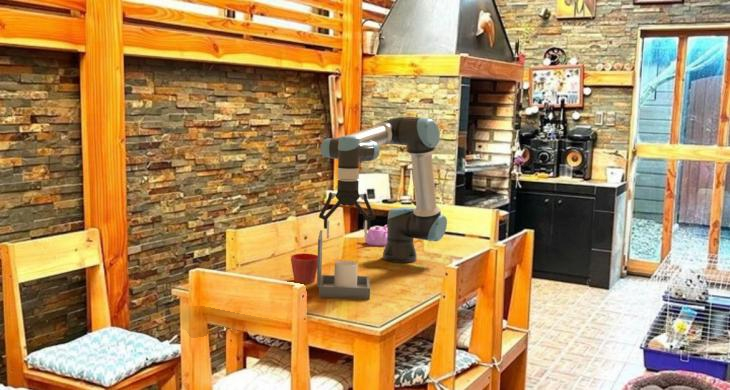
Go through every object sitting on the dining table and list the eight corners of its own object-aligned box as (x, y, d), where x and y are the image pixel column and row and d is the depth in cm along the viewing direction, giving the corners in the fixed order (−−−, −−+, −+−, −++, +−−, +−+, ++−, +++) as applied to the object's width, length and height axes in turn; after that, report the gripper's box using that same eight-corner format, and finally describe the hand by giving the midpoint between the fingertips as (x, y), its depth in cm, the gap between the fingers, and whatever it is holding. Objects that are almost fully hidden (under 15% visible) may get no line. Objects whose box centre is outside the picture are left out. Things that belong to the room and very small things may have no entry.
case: (368, 285, 267) (370, 231, 264) (369, 299, 248) (371, 240, 245) (317, 284, 266) (319, 229, 263) (315, 297, 248) (316, 239, 245)
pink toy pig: (386, 241, 352) (387, 224, 351) (391, 247, 338) (392, 229, 337) (362, 241, 350) (363, 223, 349) (366, 247, 337) (367, 228, 335)
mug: (336, 284, 262) (337, 257, 261) (358, 285, 262) (359, 258, 260) (332, 293, 251) (333, 264, 249) (355, 294, 250) (356, 266, 249)
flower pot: (307, 286, 263) (308, 260, 261) (284, 281, 268) (285, 256, 267) (324, 280, 272) (324, 256, 270) (301, 276, 277) (302, 252, 276)
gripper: (382, 179, 255) (380, 236, 258) (313, 177, 254) (312, 235, 257) (383, 181, 247) (381, 240, 250) (312, 180, 247) (311, 239, 250)
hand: (346, 238), depth 254 cm, fingers open, 13 cm apart
